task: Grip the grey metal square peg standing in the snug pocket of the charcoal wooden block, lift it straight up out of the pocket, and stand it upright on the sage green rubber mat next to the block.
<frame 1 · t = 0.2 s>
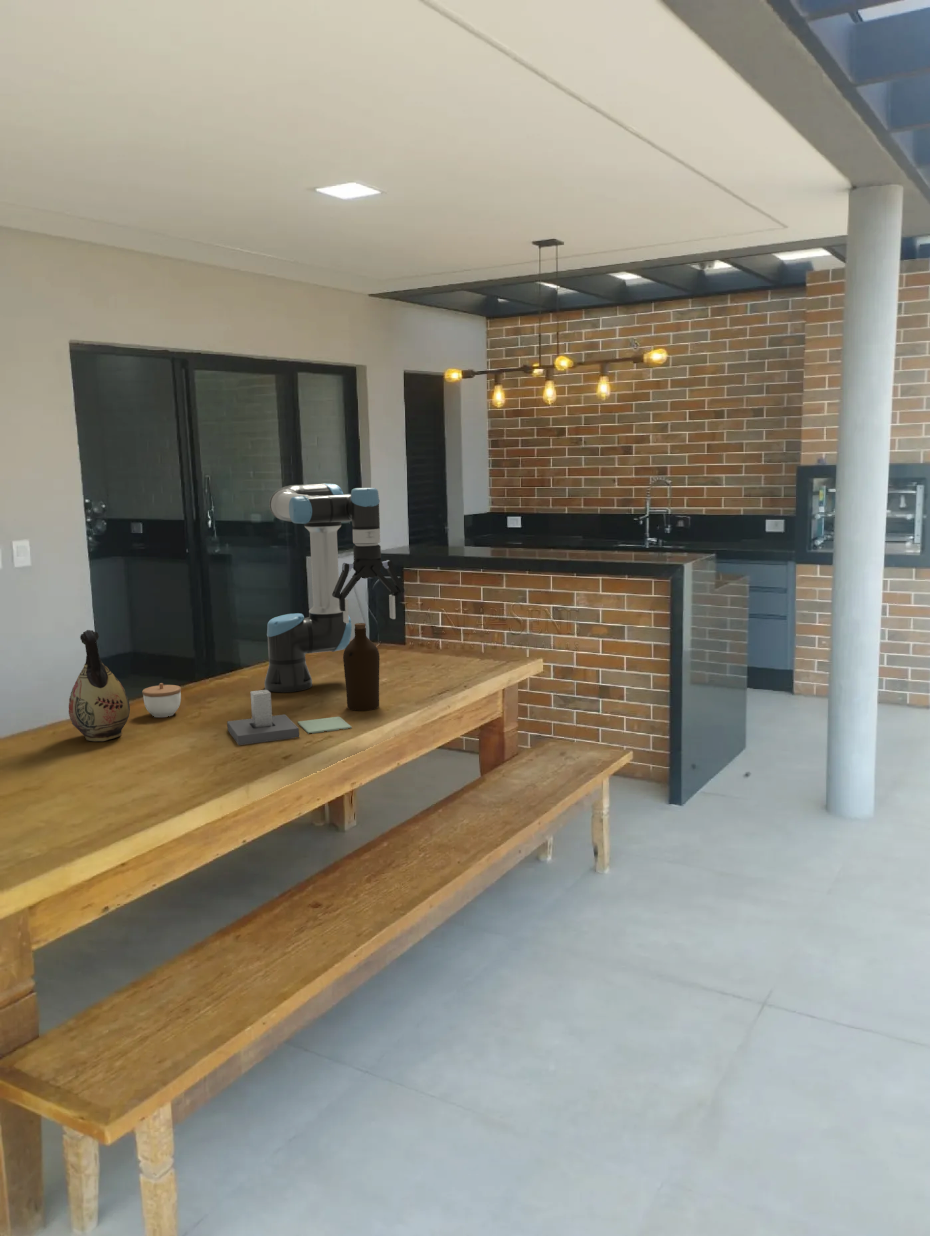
hand: (369, 620, 279), 28 cm above the table, tool pointing down, fingers open, 13 cm apart
lidded jar: (163, 715, 292), on the table
ceramic jug: (102, 738, 269), on the table
metal peg: (261, 713, 269), in the pocket block
olive oil: (363, 707, 296), on the table
green mat: (324, 725, 276), on the table
pocket block: (262, 733, 270), on the table
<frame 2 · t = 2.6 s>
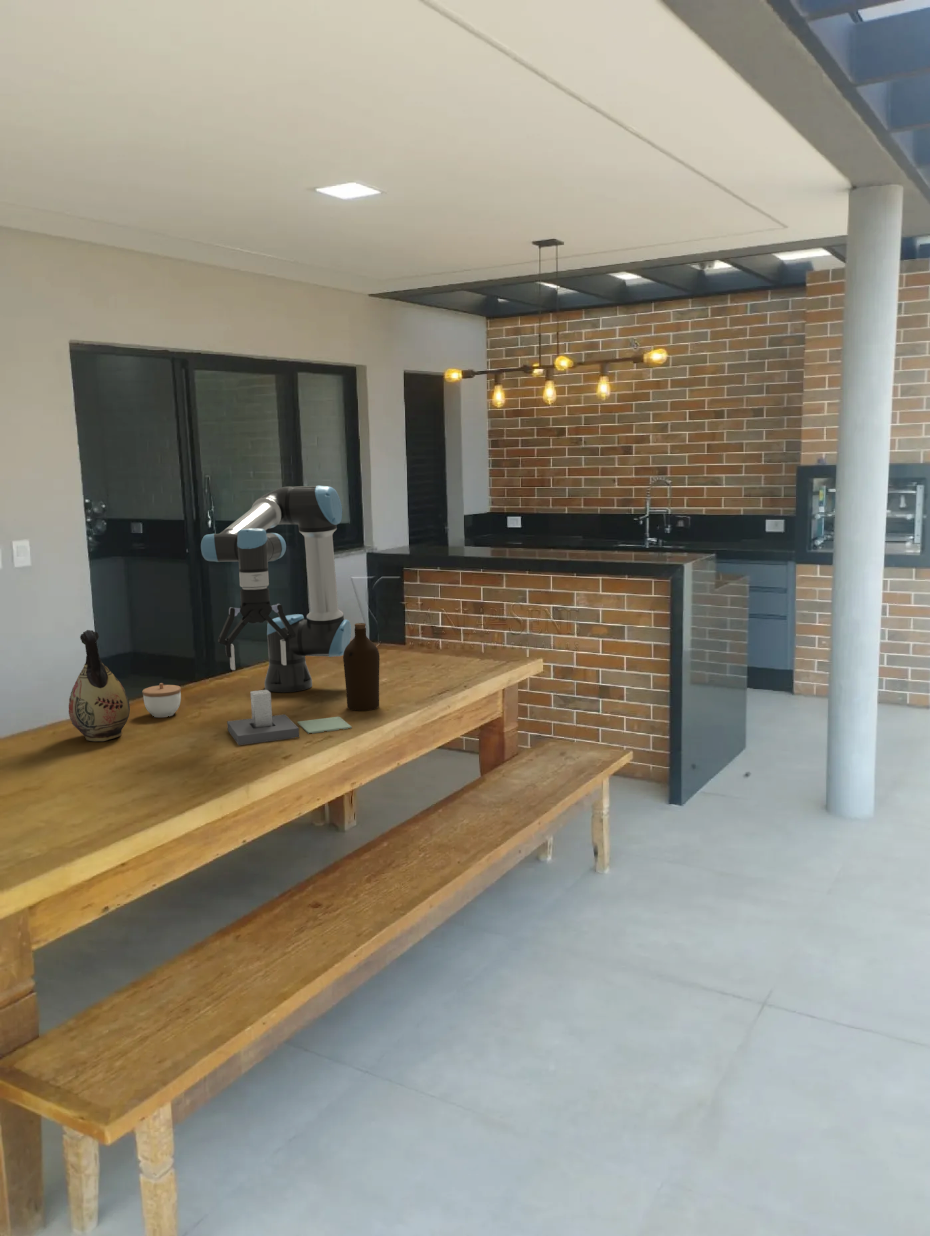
hand: (258, 666, 267), 18 cm above the table, tool pointing down, fingers open, 13 cm apart
nothing on the table moved.
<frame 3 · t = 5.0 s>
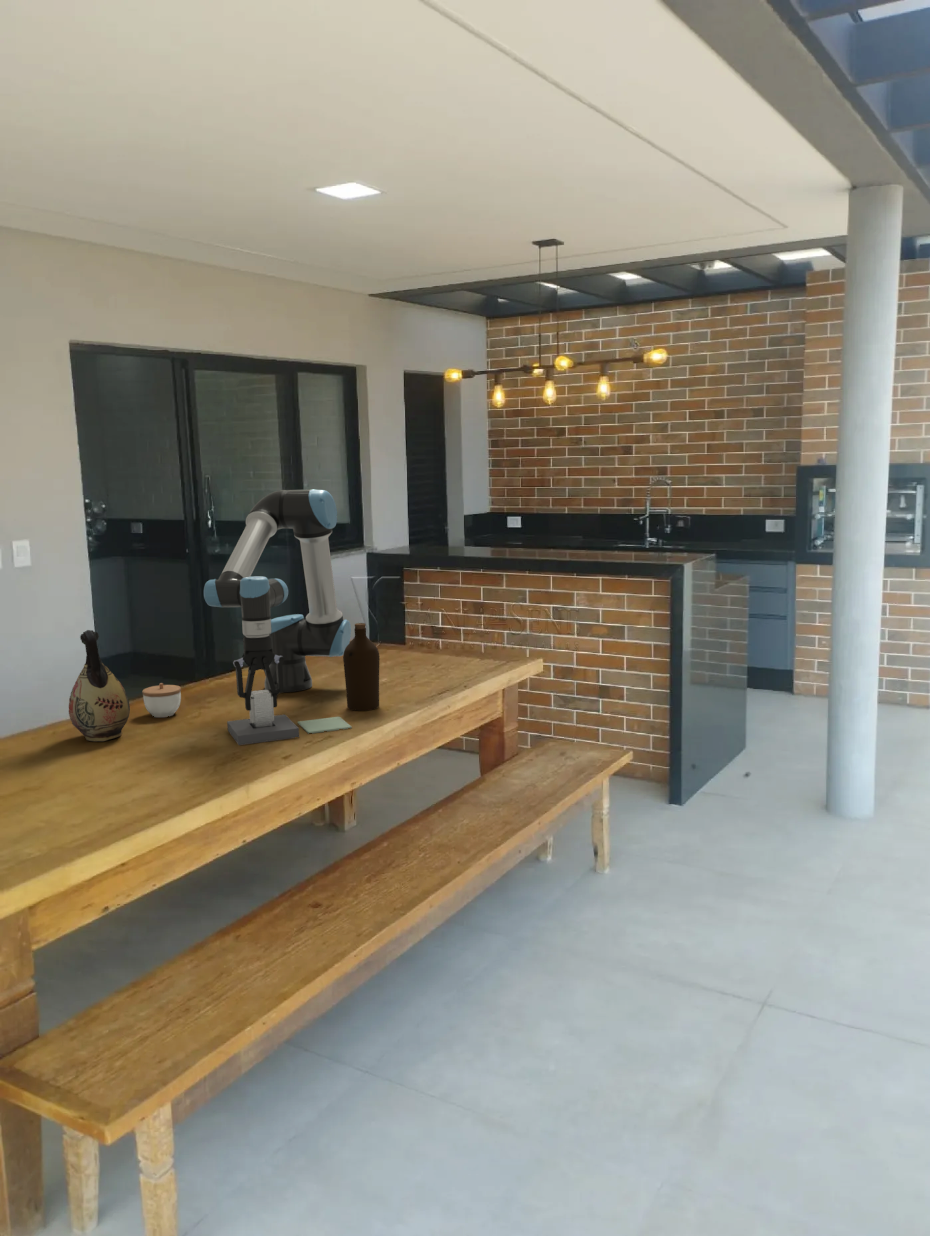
hand: (262, 720, 269), 4 cm above the table, tool pointing down, fingers closed on metal peg, 4 cm apart
metal peg: (261, 713, 269), in the pocket block, touching gripper
everything else where it was.
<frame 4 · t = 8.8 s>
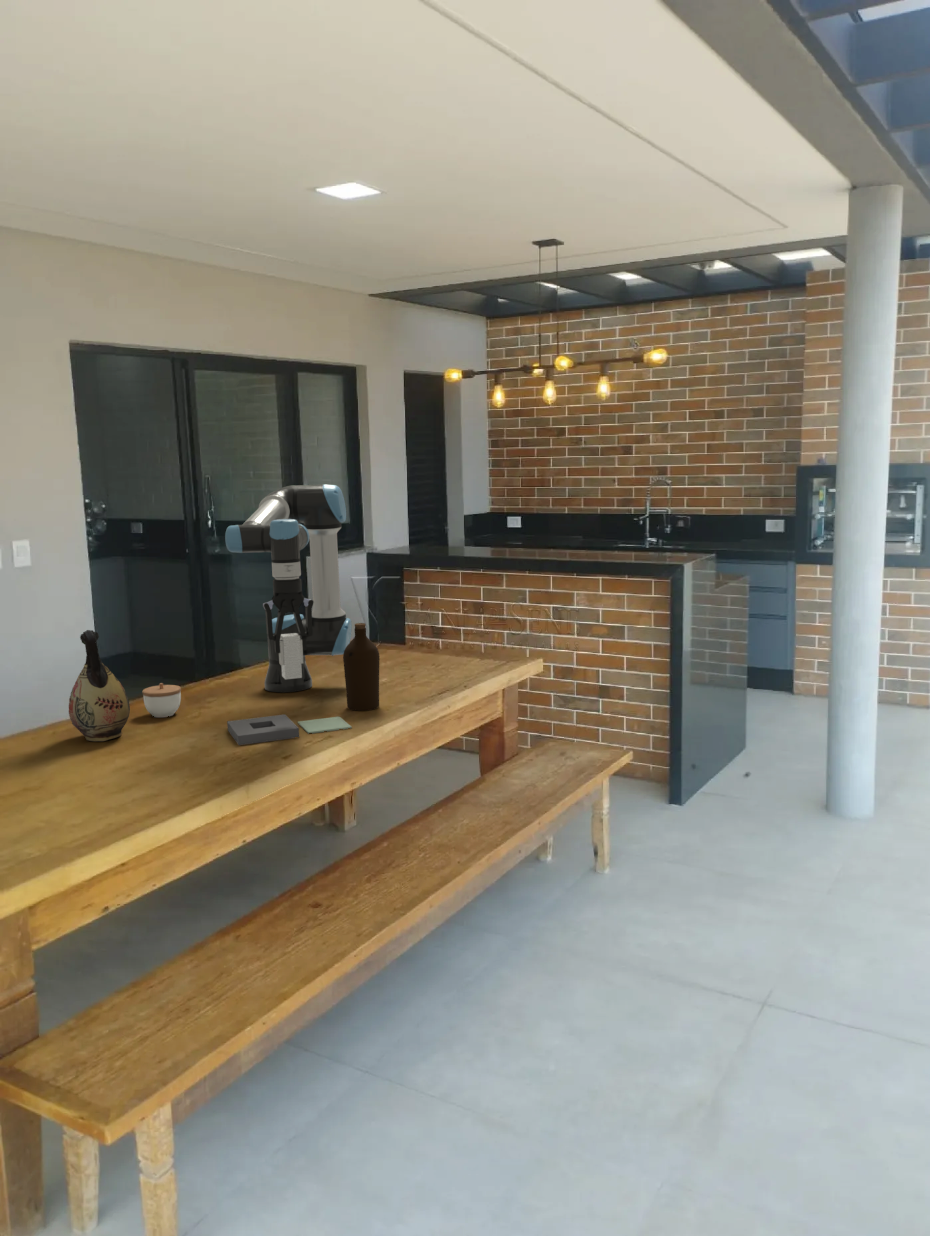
hand: (291, 663, 270), 18 cm above the table, tool pointing down, fingers closed on metal peg, 4 cm apart
metal peg: (290, 656, 270), point 20 cm above the table, touching gripper
everything else where it was.
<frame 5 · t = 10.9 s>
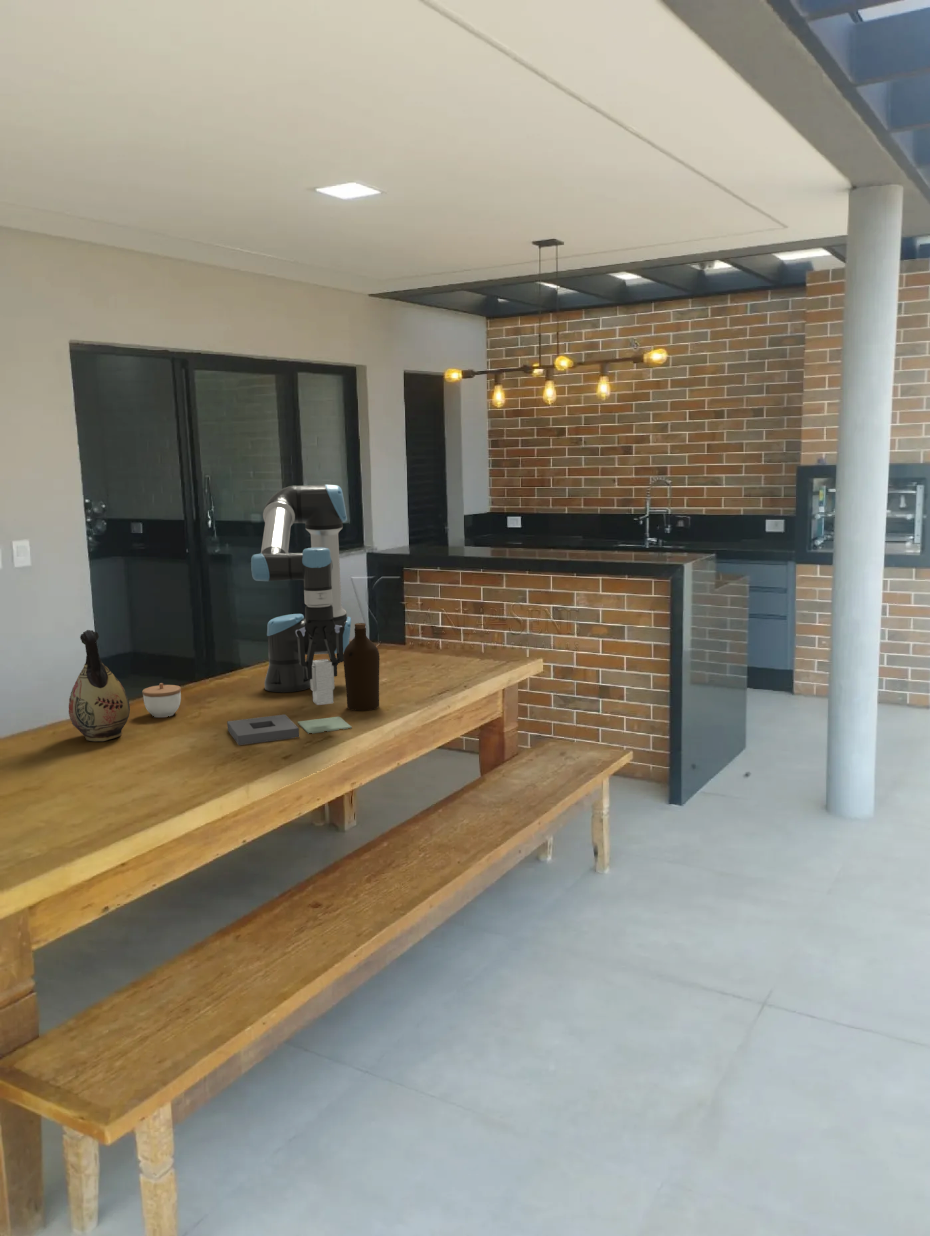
hand: (322, 689, 274), 10 cm above the table, tool pointing down, fingers closed on metal peg, 4 cm apart
metal peg: (322, 681, 274), point 12 cm above the table, touching gripper
everything else where it was.
when the fingers open (5 cm above the table, at t = 12.5 s): metal peg stays where it is, resting on green mat.
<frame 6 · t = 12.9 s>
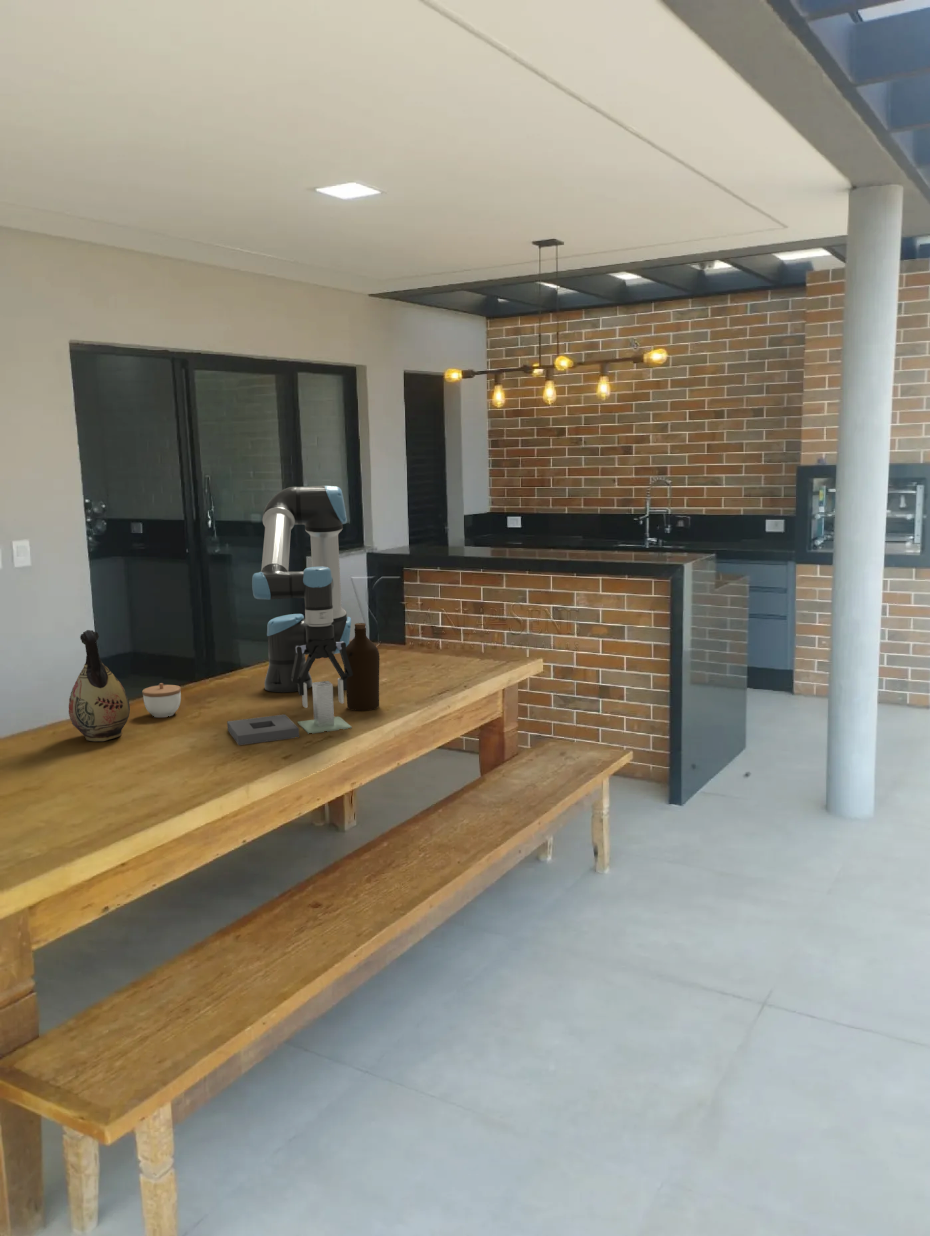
hand: (323, 704, 275), 6 cm above the table, tool pointing down, fingers open, 9 cm apart
metal peg: (323, 703, 275), on the green mat
everything else where it was.
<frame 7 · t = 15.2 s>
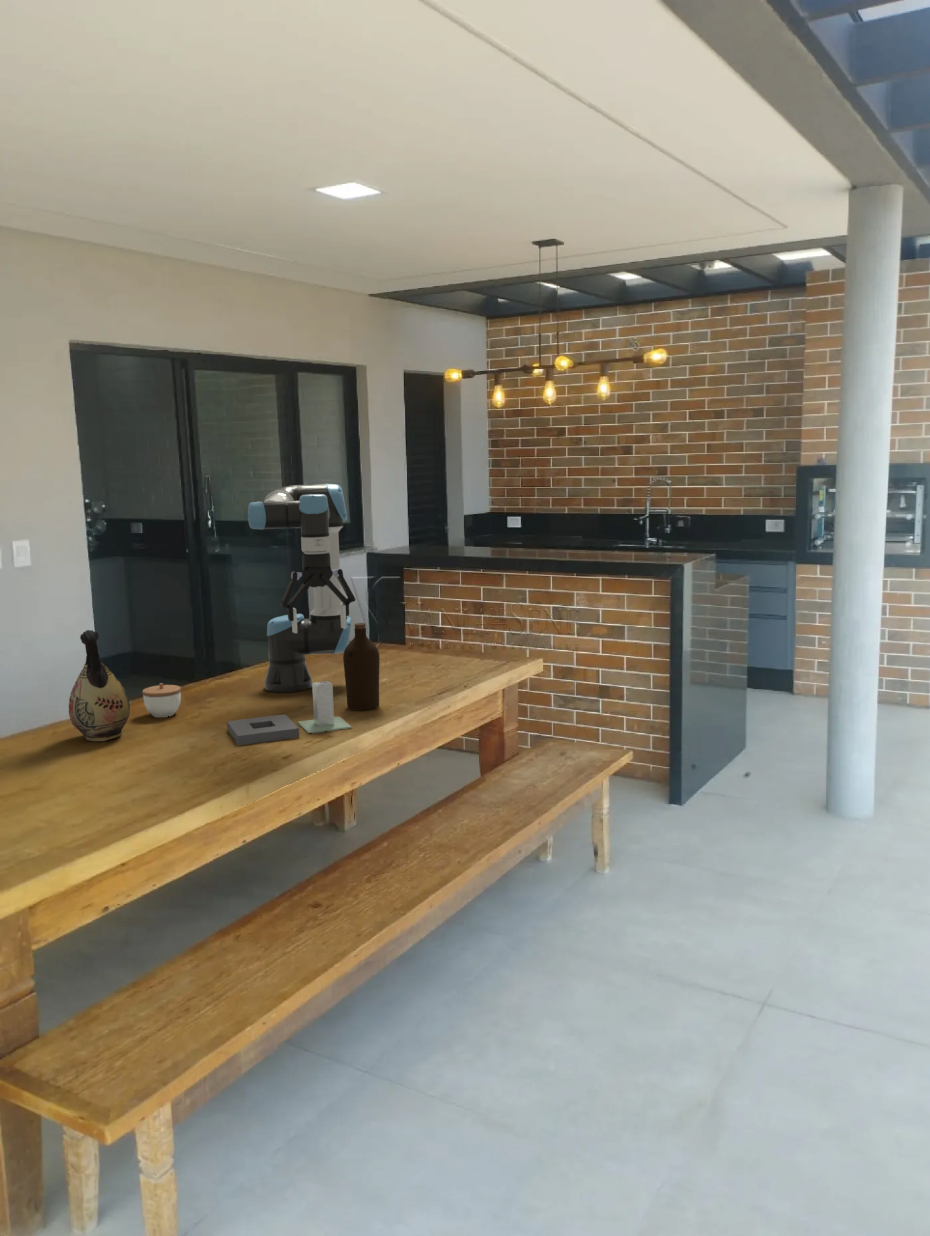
hand: (319, 630, 272), 27 cm above the table, tool pointing down, fingers open, 13 cm apart
nothing on the table moved.
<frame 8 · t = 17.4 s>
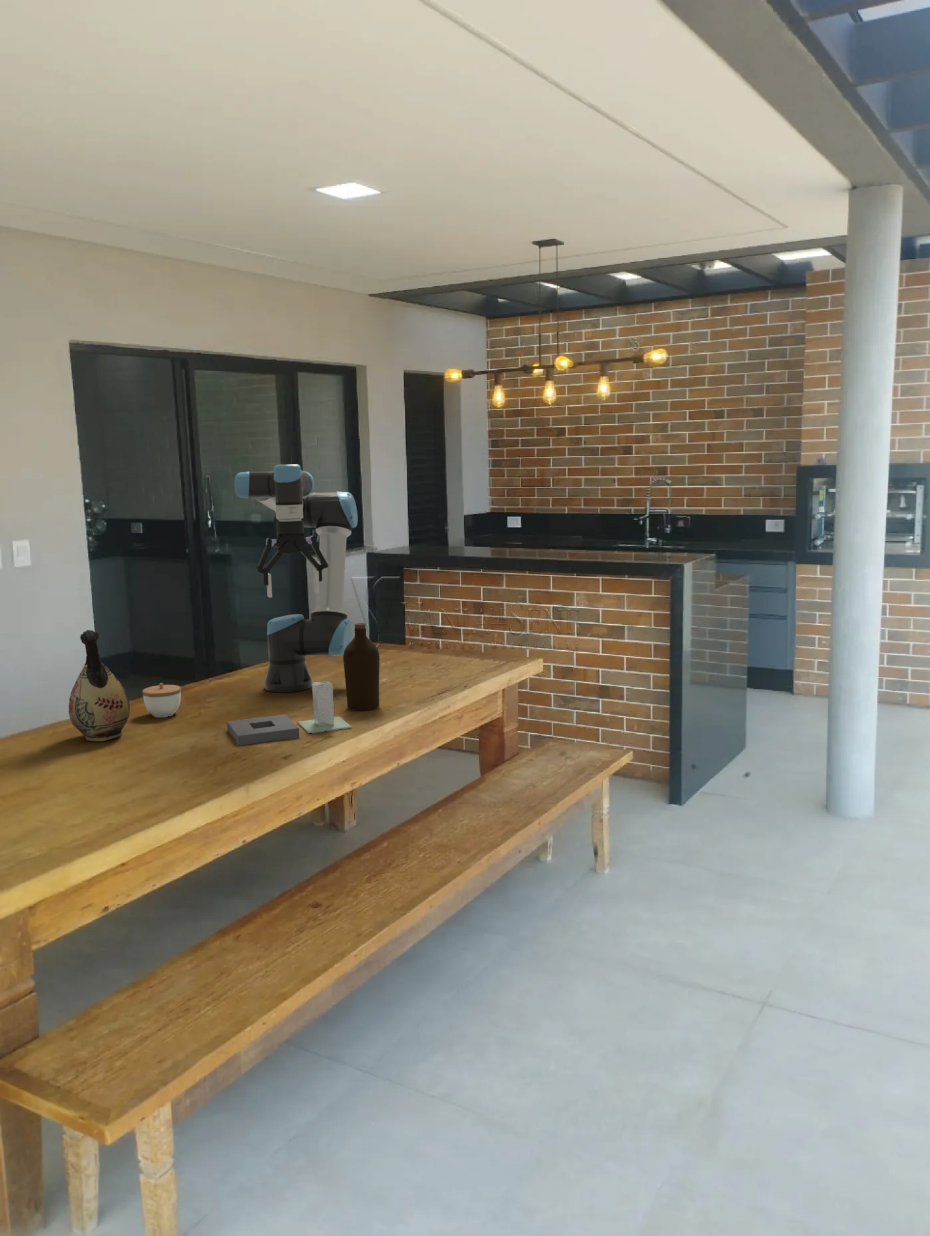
hand: (293, 595, 284), 35 cm above the table, tool pointing down, fingers open, 13 cm apart
nothing on the table moved.
at the end: metal peg inside the target area on the green mat (0.0 cm from its centre), point 6.2 cm above the green mat's base; metal peg tilted 0°; metal peg touching green mat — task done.
